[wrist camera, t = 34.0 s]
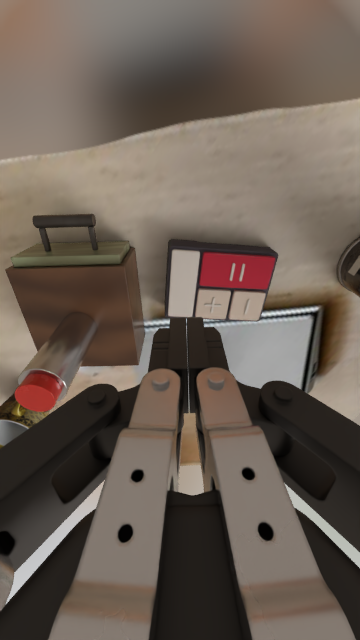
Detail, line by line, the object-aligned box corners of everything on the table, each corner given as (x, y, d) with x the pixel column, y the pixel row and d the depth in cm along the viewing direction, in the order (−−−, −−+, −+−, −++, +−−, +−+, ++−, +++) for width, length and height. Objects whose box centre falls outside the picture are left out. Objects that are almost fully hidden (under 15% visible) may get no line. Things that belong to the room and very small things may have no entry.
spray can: (94, 311, 33) (52, 380, 22) (100, 340, 35) (66, 415, 24) (58, 312, 33) (0, 381, 22) (67, 340, 35) (18, 416, 25)
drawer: (26, 211, 34) (-5, 220, 28) (124, 208, 33) (113, 216, 28) (63, 328, 43) (46, 352, 37) (139, 326, 43) (133, 350, 37)
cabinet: (38, 250, 37) (4, 269, 30) (134, 247, 37) (124, 266, 30) (65, 336, 45) (43, 367, 38) (145, 334, 45) (138, 365, 38)
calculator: (261, 324, 39) (164, 320, 38) (252, 311, 43) (164, 306, 42) (281, 254, 34) (168, 246, 32) (270, 245, 37) (168, 238, 36)
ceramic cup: (58, 415, 56) (36, 460, 47) (10, 403, 54) (-23, 448, 45) (68, 374, 49) (45, 417, 41) (14, 359, 47) (-22, 401, 39)
